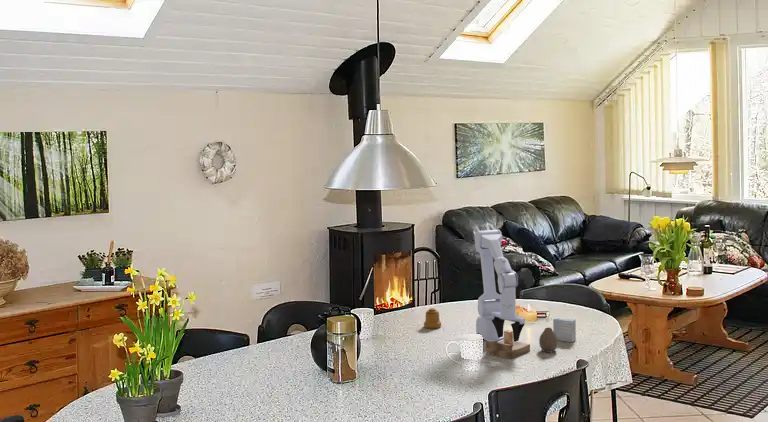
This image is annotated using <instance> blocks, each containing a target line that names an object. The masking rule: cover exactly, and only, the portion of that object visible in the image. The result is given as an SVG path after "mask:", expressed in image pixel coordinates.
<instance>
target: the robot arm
mask: <svg viewBox="0 0 768 422" xmlns="http://www.w3.org/2000/svg"><path fill="white" fill-rule="evenodd" d="M474 234H475V235H474V245H475V251H476V252H477V253H479V256H480V266H481V274H482V284H483V285H482V286H483V294H481V295H480V296H479V297H478V299H477V312H478V313H477V314H478V317H477V318H476V320H475V335H476V334H480V335H482V337H483V339H484V341H487V340H490V341H495V342H499V341H500V340H504V325H505V321H509V322H513V323H511V324H510V326H511V331H513V341H514V342H519V340H520V335H521V332H522V330H523V328H524V327H525V324H526V318H525V317H521V316H519V315H517V313H516V312H517V309H516V306H517V305H516V303H517V301H516V300H517V299H516V296H517V295H516V288H517V287H518V285H519V278H518V274H517V272H516V271H514V269H512V267H511V264H510V262H509V260H508V259H507V258H506V257H504V253H503V249H502V246H501V245H502V242H503V236H502V235H503V234H502V231H501V230H500V229H499V228H497V229H489V230H479V229H478V230H476V231H475V233H474ZM495 272H496V274H497V285H498V291H499V293H500V294H499V293H498V292H497V287H496V279H495V278H496V277H495Z"/></svg>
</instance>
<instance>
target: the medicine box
mask: <svg viewBox="0 0 768 422" xmlns="http://www.w3.org/2000/svg"><path fill="white" fill-rule="evenodd" d="M576 321H577V319H576V318H570V317H563V316H557V317H555V318H553V325H552V328H553V329H552V330H553V332H554V333H555V334H556V336H557V339H558V342H566V343H567V342H568V343H573V342H575V341H576V338H577V337H576V335H577V334H576V333H577V332H576V326H577V325H576V323H577V322H576Z"/></svg>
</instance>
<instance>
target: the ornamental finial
mask: <svg viewBox="0 0 768 422" xmlns="http://www.w3.org/2000/svg"><path fill="white" fill-rule="evenodd" d="M423 326H424V328H425V329H430V330H436V329H439V328H441V327H442V322H441V320H440V311H438V310H437V309H436V308H434V307H433V308H432V307H431V308H429V309H427V310H426V312H425V320H424V322H423Z"/></svg>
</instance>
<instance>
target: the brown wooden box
mask: <svg viewBox="0 0 768 422" xmlns="http://www.w3.org/2000/svg"><path fill="white" fill-rule="evenodd" d="M485 341H486V349H485V350H486V354H487V353H489V354H488V355H491V354H493V355H492V356H495V355H496V356H495V357H501V358H504V359H510V360H512V359H514V358H517V357H519V356H521V355H524V354H525V353H528V352H530V351H531V344H530V343H526V342H521V341H516V342H514V340H513V346H512V345H509V344H504V339H502V340H501V341H500V340H499V341H490V340H485Z"/></svg>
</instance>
